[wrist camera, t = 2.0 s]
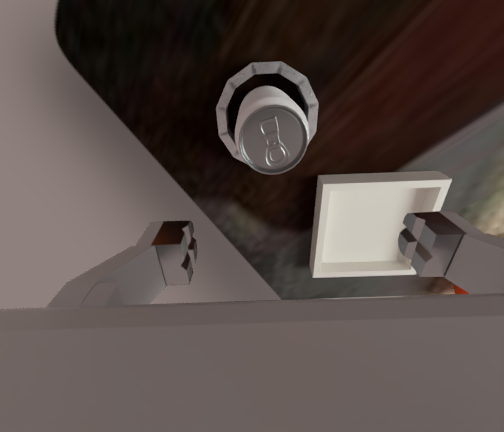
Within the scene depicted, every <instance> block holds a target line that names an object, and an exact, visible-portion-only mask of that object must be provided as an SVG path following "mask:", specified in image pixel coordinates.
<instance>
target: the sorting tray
mask: <svg viewBox="0 0 504 432" xmlns="http://www.w3.org/2000/svg"><path fill="white" fill-rule="evenodd" d="M451 181H452V179H450V178H449V177H447V176H445V175H444V174H442V173H440V172H439V171H416V172H390V173H364V174H338V175H318V181H317V192H316V202H315V212H314V222H313V232H312V242H311V253H310V263H309V266H310V269H311V273H312V276H313V278H321V277H352V276H383V275H413V274H416V271H415V270H414V268H413V267H412V266H411V265H410V263H411V260H410V259H408V258H406V257H404V256H403V255H402V253H401V252H400V250H399V247H398V237H399V233H400V232H401V231H402V230H403V229H404V228H405V226H404V224H403V220H404V217H405V216H406V215H407V213H418V212H435V211H440V210H441V207H442V204H443V202H444V199H445V197H446V194H447V191H448V189H449V186H450V184H451Z"/></svg>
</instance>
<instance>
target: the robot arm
mask: <svg viewBox="0 0 504 432" xmlns="http://www.w3.org/2000/svg"><path fill="white" fill-rule="evenodd" d="M403 224H404V226H405V228H404V229H403V230H402V231H401V232H400V233H399V237H398V247H399V250H400V252H401V253H402V255H403V256H404V257H406V258H408V259H410V260H411V263H410V265H411V266H412V267H413V268H414V270H415V271H416V272H417V273H418V275H419V276H420V277H445V278H446V279H447V280H449V281H450V282H452V283H454V284H455V285H457V286H458V287H460V288H462V289H463V290H465V291H466V292H468V293H469V294H450V295H419V296H389V297H358V298H327V299H296V300H266V301H236V302H205V303H175V304H174V303H173V304H150V303H151V302H152V301H153V300H154V299H155V298H156V297H157V296H158V295H159V294H160V293H161V292H162V291H163V290H164V289H165V288H166V286H174V285H189V284H190V281H191V277H192V274H193V268H192V266H193V265H194V264H195V263H196V259H197V244H196V240H195V239H194V238H193V237H192V236H193V232H194V228H193V223H192V222H191V221H156V222H150V223H149V225H148V227H147V228H146V230H145V231H144V233H143V235H142V236H141V238H140V239H139V241H138V242H137V244H136V246H132V247H129V248H127V249H126V250H124V251H122V252H120V253H118V254H117V255H115V256H113V257H111V258H110V259H108V260H106V261H104V262H103V263H101V264H99V265H97V266H95V267H94V268H92V269H90V270H88V271H87V272H85V273H83V274H81V275H80V276H78V277H76V278H74V279H72V280H71V281H69V282H67V283H66V284H65V285H64V286H63V288H62V289H61V290H60V291H59V293H58V294H57V295H56V296H55V297H54V298H53V300H52V301H51V302H50V303H49V305H48V306H47V307H46V308H20V309H0V432H504V239H503V238H500V237H497V236H494V235H491V234H484V233H482V232H481V231H480V230H478V229H477V228H476V227H474V226H473V225H471V224H470V223H469V222H467V221H466V220H465V219H463V218H462V217H460V216H459V215H458V214H456V213H455V212H453V211H449V210H448V211H435V212H418V213H407V215H406V216H405V217H404V220H403Z"/></svg>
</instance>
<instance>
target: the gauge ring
mask: <svg viewBox="0 0 504 432" xmlns="http://www.w3.org/2000/svg"><path fill="white" fill-rule="evenodd" d="M269 73H279V74H280V75H282V76H284V77H285V78H287V79H288V80H290V81H292V82H293V83H295V85H296V87H297V89H298V91H299V93H300V96H301V98H302V100H303V102H304V111H303V113H304V114H305V116H306V119H307V122H308V125H309V141H308V144H309V142H310V140H311V139H312V137H313V136H314V134H315V133H316V126H317V115H318V101H317V99H316V97H315V95H314V93H313V91H312V88H311V86H310V84H309V82H308V80H307V78H306V77H305V76H304V75H302V74H301V73H299V72H297V71H296V70H294V69H293V68H291V67H289V66H288V65H286V64H285V63H283V62H282V61H276V62H253V63H250V64H249V65H248V66H246V67H245V68H244V69H242V70H241V71H240V72H238V73H237V74H235V75H234V76H233V77H231V78H230V79H229V80H228V81H227V83H226V86H225V88H224V90H223V93H222V95H221V97H220V100H219V102H218V104H217V107H216V113H217V123H218V132H219V137H220V138H221V140H222V141H223V142H224V144H225V145H226V147H227V148H228V150H229V151H230V153H231V154H232V156H233V157H234V158H236V159H238V160H240V161H242V162H244V163H246V162H245V161H244V160H243V159H242V157H241V156H240V154H239V152H238V150H237V147H236V143H235V135H234V133H233V132H232V130H231V129H230V127H229V117H228V104H229V102H230V99H231V97H232V95H233V93H234V90H235V88H236V87H238V86H239V85H240V84H242V83H243V82H245V81H246V80H247V79H249V78H250V77H252V76H253V75H254V74H269ZM246 164H247V163H246Z"/></svg>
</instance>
